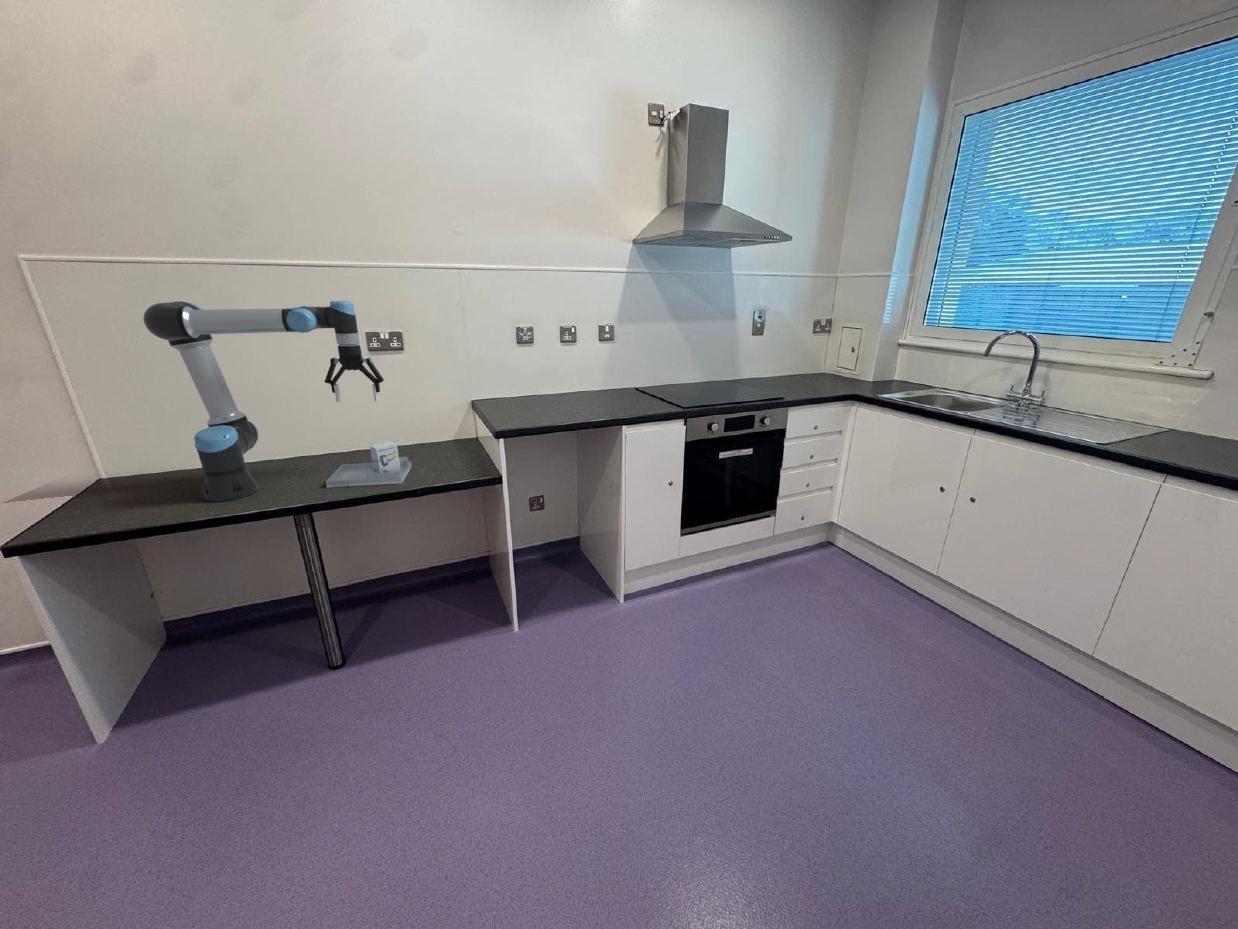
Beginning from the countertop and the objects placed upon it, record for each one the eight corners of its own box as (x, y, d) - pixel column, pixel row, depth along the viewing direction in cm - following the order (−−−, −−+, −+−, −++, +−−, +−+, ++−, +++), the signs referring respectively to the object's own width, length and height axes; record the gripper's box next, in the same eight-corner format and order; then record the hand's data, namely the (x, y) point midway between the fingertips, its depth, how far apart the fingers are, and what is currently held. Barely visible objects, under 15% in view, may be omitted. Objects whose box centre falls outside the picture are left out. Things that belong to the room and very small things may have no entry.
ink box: (394, 468, 196) (390, 440, 192) (401, 471, 194) (397, 442, 190) (373, 474, 190) (368, 445, 186) (380, 477, 187) (375, 448, 183)
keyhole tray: (326, 487, 181) (324, 476, 179) (343, 470, 197) (341, 459, 196) (401, 483, 185) (400, 472, 184) (411, 466, 202) (410, 456, 200)
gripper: (307, 345, 177) (319, 403, 184) (381, 345, 181) (389, 402, 188) (316, 343, 184) (326, 399, 191) (387, 343, 188) (394, 398, 195)
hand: (358, 401), depth 190 cm, fingers open, 13 cm apart
